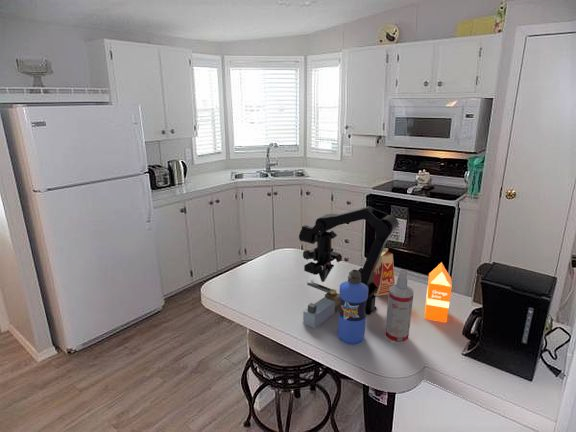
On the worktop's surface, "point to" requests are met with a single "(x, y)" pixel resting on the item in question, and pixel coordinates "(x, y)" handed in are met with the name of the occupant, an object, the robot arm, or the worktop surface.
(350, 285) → the blue bottle
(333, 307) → the blue-grey block
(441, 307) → the orange juice
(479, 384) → the worktop surface
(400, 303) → the spray bottle
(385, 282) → the milk carton
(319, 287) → the bar
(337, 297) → the tan wooden block
